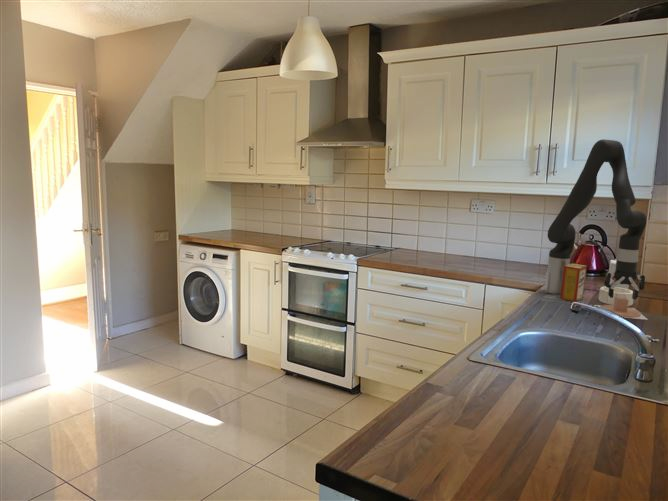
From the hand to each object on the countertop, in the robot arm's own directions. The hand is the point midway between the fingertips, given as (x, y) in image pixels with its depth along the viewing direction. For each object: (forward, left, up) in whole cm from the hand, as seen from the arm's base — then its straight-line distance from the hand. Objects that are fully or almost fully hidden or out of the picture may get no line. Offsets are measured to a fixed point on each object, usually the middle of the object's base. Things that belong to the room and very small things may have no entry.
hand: (622, 298), depth 206 cm
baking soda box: (-15, +17, -7) cm, 24 cm away
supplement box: (+10, +40, -7) cm, 42 cm away
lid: (0, 0, -6) cm, 6 cm away
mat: (0, 0, -7) cm, 7 cm away
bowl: (+3, +17, -7) cm, 19 cm away
